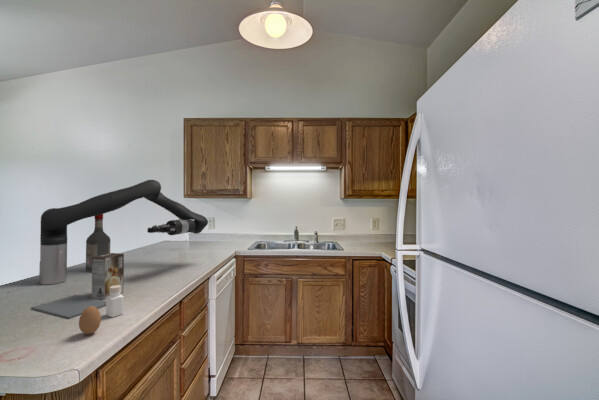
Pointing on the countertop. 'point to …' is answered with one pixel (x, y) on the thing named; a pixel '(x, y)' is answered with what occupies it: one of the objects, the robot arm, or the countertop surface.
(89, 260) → the liquor
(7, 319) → the countertop surface
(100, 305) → the mat
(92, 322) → the egg
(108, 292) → the coffee box
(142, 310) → the countertop surface
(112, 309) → the salt shaker
